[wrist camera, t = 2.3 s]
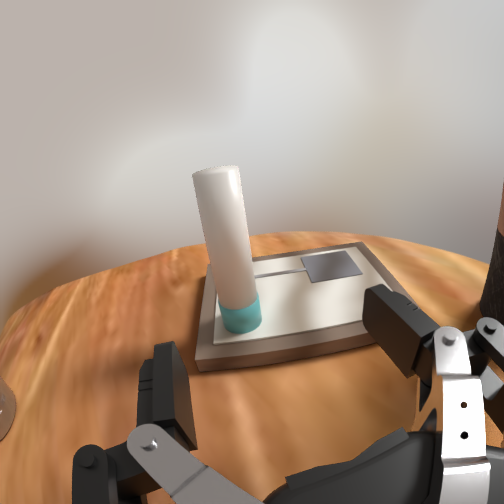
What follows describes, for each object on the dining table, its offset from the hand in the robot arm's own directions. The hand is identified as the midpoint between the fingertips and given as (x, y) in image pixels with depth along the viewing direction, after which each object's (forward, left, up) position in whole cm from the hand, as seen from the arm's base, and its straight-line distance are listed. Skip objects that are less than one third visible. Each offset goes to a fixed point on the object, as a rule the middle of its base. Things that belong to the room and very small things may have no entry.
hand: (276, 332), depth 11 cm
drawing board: (+4, +15, -10) cm, 19 cm away
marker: (-2, +11, -8) cm, 14 cm away
